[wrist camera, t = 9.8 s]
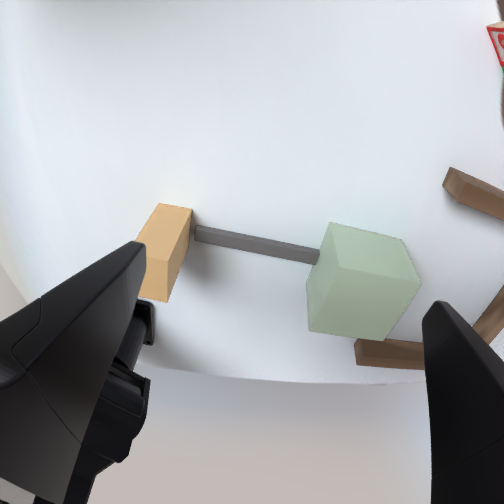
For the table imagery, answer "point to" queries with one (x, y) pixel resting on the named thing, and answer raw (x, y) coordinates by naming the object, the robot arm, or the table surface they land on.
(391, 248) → the block dumbbell
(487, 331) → the frame
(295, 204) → the table surface
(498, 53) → the stack of blocks
